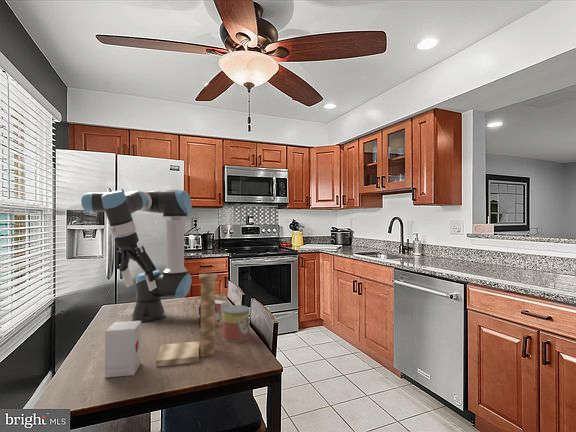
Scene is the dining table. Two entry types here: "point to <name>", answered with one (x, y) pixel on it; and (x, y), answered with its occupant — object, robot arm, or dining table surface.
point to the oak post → (207, 313)
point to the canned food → (235, 323)
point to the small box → (219, 311)
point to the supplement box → (122, 348)
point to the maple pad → (178, 353)
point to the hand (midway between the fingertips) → (141, 287)
